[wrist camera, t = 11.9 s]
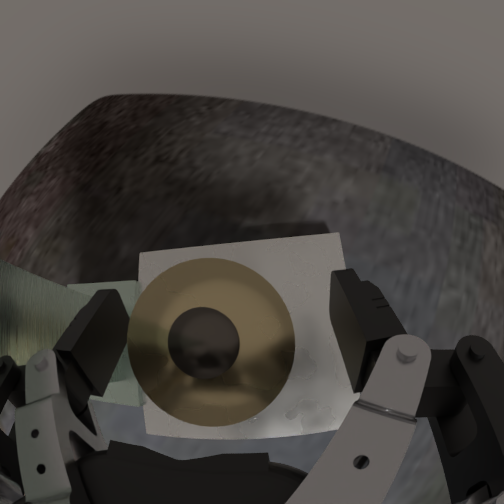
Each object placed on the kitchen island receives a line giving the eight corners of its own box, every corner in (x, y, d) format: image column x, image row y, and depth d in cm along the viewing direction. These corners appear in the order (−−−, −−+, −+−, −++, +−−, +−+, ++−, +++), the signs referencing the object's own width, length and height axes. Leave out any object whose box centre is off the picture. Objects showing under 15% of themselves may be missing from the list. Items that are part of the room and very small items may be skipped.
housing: (280, 301, 16) (285, 246, 7) (287, 378, 14) (303, 424, 6) (203, 308, 16) (123, 262, 7) (208, 383, 14) (129, 422, 6)
